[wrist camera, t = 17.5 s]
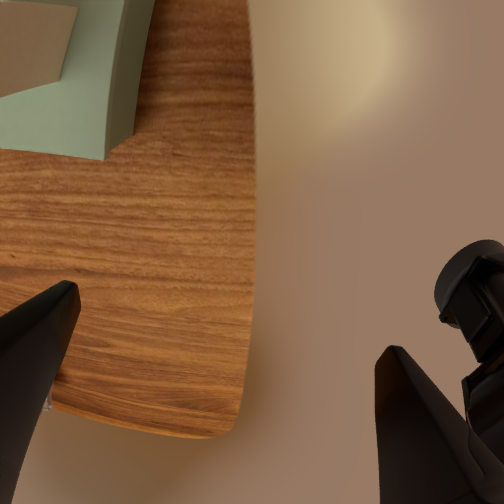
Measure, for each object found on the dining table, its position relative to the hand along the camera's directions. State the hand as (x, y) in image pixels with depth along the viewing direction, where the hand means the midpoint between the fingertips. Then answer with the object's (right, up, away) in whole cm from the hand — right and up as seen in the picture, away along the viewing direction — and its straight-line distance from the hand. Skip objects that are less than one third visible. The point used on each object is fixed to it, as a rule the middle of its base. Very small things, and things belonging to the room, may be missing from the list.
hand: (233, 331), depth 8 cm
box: (-12, +15, +7) cm, 20 cm away
